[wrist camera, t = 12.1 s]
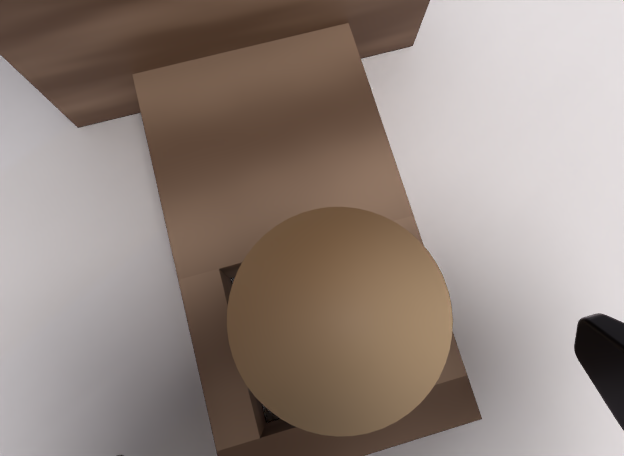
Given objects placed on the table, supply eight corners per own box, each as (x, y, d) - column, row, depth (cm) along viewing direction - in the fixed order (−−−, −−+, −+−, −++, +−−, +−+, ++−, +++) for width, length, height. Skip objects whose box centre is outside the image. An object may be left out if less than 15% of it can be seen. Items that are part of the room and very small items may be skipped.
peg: (385, 331, 20) (498, 321, 9) (315, 400, 20) (335, 490, 8) (320, 261, 21) (344, 164, 9) (249, 326, 20) (179, 309, 9)
